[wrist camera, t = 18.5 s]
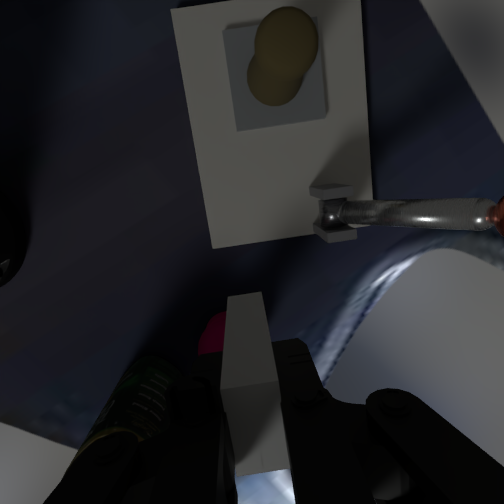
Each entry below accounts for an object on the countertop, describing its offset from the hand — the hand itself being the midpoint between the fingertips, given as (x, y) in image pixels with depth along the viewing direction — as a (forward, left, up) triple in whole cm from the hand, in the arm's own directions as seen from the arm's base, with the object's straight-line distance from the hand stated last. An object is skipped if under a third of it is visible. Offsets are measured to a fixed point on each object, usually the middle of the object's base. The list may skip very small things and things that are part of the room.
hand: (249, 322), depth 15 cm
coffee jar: (-16, -20, -29) cm, 38 cm away
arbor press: (+6, +10, -28) cm, 31 cm away
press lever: (+9, +1, -24) cm, 25 cm away
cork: (+6, +16, -26) cm, 31 cm away
